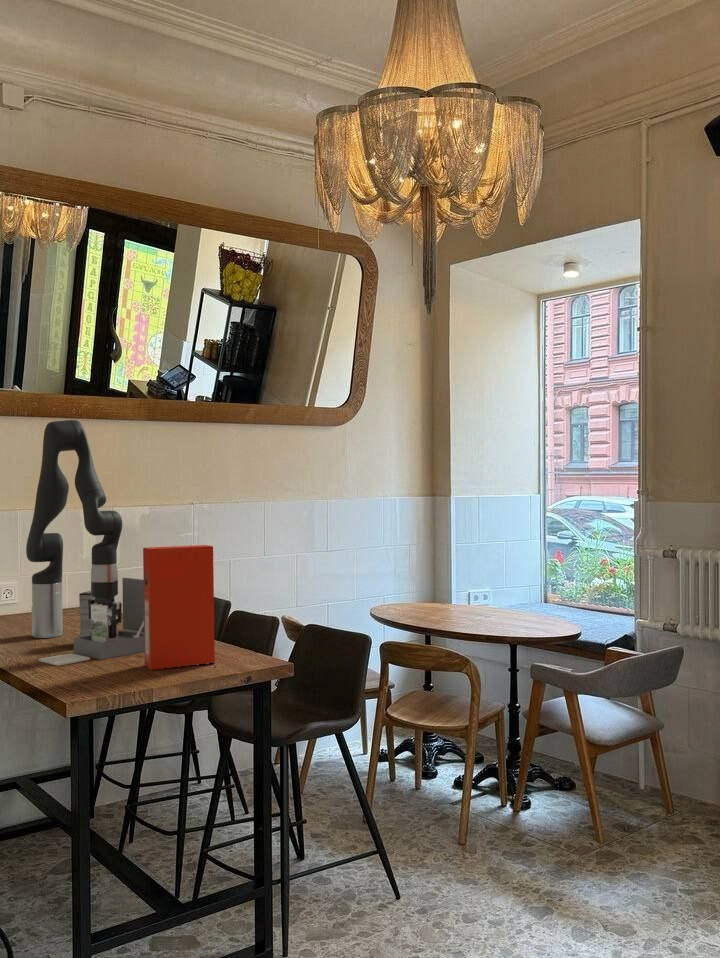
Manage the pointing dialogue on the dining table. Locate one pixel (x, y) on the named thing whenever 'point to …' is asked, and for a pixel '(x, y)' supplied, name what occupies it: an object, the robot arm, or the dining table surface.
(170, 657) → the file binder
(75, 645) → the case
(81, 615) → the coffee box
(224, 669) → the dining table surface
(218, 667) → the dining table surface
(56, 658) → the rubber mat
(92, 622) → the syrup box
